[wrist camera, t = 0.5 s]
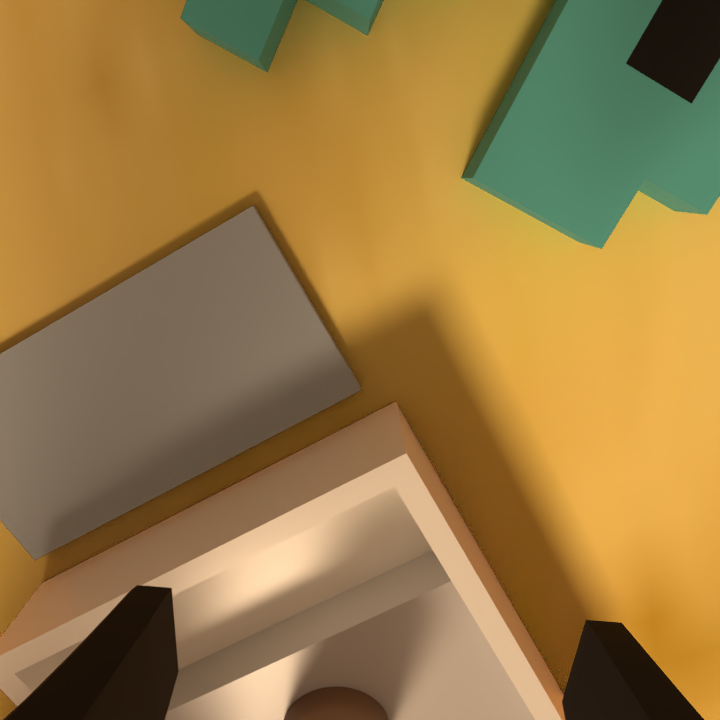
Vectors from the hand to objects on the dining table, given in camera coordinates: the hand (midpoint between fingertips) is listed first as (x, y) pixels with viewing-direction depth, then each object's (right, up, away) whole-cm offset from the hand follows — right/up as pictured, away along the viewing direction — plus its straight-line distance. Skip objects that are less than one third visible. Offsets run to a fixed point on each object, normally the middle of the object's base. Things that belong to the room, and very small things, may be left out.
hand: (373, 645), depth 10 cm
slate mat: (-8, +4, +10) cm, 13 cm away
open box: (-2, -7, +13) cm, 15 cm away
